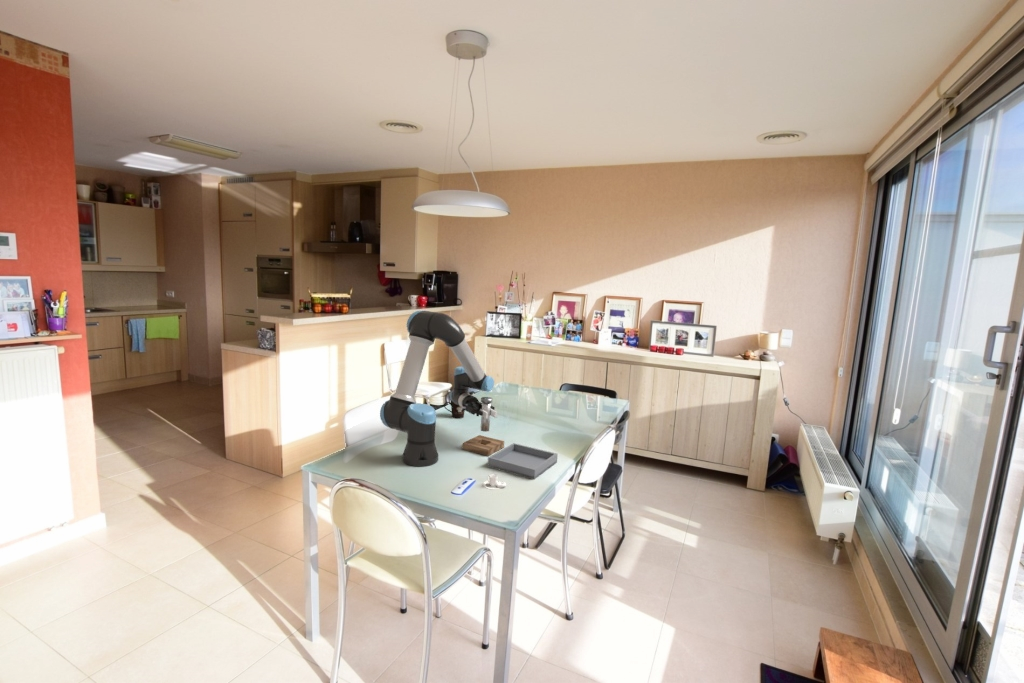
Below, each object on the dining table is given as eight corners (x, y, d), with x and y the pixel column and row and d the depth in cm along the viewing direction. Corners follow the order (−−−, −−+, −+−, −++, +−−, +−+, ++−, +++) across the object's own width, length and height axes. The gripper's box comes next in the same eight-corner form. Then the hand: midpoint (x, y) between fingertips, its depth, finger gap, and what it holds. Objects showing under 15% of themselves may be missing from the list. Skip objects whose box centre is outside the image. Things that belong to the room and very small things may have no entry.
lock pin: (486, 432, 228) (488, 400, 226) (477, 430, 230) (478, 398, 228) (492, 429, 232) (494, 398, 230) (483, 427, 235) (485, 396, 233)
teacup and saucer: (509, 487, 193) (509, 477, 192) (493, 493, 187) (494, 482, 187) (493, 479, 199) (494, 470, 199) (478, 485, 194) (479, 475, 193)
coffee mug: (467, 415, 282) (467, 398, 281) (464, 419, 274) (464, 402, 272) (446, 413, 283) (447, 396, 282) (443, 418, 275) (443, 400, 273)
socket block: (488, 456, 223) (488, 449, 222) (462, 449, 229) (462, 443, 229) (504, 447, 235) (504, 441, 234) (479, 441, 241) (479, 435, 241)
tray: (534, 479, 201) (535, 469, 200) (487, 466, 211) (488, 457, 210) (557, 462, 220) (557, 453, 219) (513, 451, 230) (513, 443, 230)
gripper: (483, 408, 250) (507, 421, 230) (452, 411, 241) (474, 425, 222) (484, 393, 249) (508, 405, 229) (453, 396, 240) (475, 408, 221)
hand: (491, 415), depth 226 cm, fingers closed on lock pin, 4 cm apart
